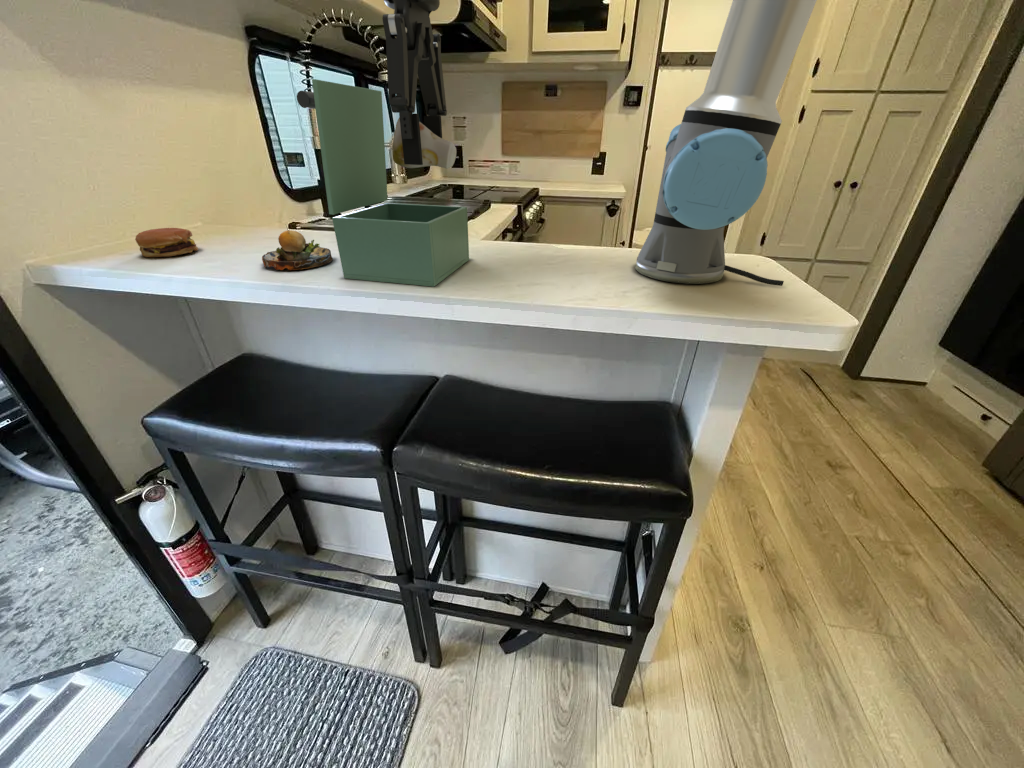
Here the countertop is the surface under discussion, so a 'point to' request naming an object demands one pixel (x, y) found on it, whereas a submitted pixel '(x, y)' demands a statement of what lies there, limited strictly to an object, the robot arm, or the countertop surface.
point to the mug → (426, 149)
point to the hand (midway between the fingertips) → (425, 162)
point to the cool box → (402, 243)
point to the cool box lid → (349, 143)
